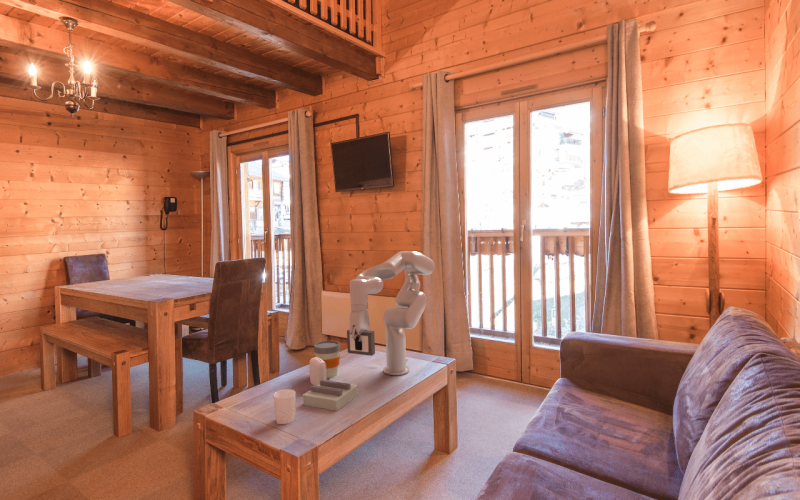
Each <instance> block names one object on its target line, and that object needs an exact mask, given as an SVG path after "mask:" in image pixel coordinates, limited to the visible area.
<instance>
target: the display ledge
mask: <svg viewBox="0 0 800 500" xmlns="http://www.w3.org/2000/svg"><path fill="white" fill-rule="evenodd" d="M358 389H359V388H358V385H357V384H351V383H347V382H339V381H334V380H328V379H327V380H321V381H320V384H319V385H318V386H315V385H313V384H311V386H310V390H308V391H305V393H303V394H302V405H303V406H309V407H313V408H314V407H315V408H319V409H325V410H330V411H334V412H335V411H336V412H338V411H339V410H340V409H342V408H343V407H344V406H345V405H346V404H348V403H349V402H351V400H353V399H354V398H355V397H357V396H358V395H359V393H358Z"/></svg>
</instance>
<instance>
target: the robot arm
mask: <svg viewBox="0 0 800 500" xmlns="http://www.w3.org/2000/svg"><path fill="white" fill-rule="evenodd" d="M435 269H436V268H435V262H434V261H433V259H431V258H430V257H428V256H427V255H424V254H423V253H421V252H418V251H414V250H413V251H412V250H409V251H408V250H402V251H399V252H397V253H395V254H394V255H392V256H391V257H390V258H389V259H387V260H386V261H384V262H382V263H380V264H377V265H374V266H371V267H369V268H367V269H365V270H363V271H362V272H361V273H359V274H358V275H357V276H355V278H353V279H351V280H350V281H349V298H350V299H349V300H350V314H349V329H350V334H352V336H351V337H352V338H353V339H354V341H355V350H360V351H361V350H362V341H361V334H362V333H363V332H364V331H366V330H368V331H370V317H369V301H368V300H369V298H368V297H369V296H368V295H376V294H379V293H380V292H382V290H383V288H384V281H386V280H391V279H394V278H395V277H397V276H398V275H399V274H401V273H402V272H403V271H404V283H403V285H402V287H401V288H400V290H398V291H399V292H398V293H397V295H396V297H395V299H394V300H395V305H396V306H389V307H387V308H385V310H384V311H383V315H382V318H383V324H384V329H385V330H384V331H385V354H386V358H385V359H386V360H385V362H386V366H385V367H384V368H383V373H385V374H386V375H388V376H402V375H406V374H408V373H409V372H410V367H409V366H408V365H407V362H408V361H409V360H408V358H407V352H406V350H407V349H406V348H407V346H406V344H407V343H406V333H405V329H406V330H412V329H414V328H415V327H416V326H417V324H418V323H419V321H420V319H421V317H422V315H423V313H424V311H425V309H426V306H427V301H428V299H427V296H426V294H425V292H423V291H420V288H421V282H420V279H419V277H418V275H419V276H429V275H432V274H433V273H434V271H435ZM356 333H358V334H356ZM358 336H359V338H358Z"/></svg>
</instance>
